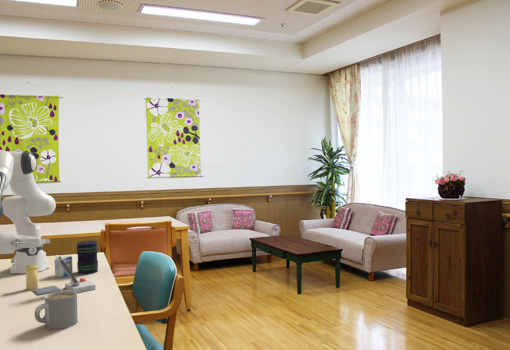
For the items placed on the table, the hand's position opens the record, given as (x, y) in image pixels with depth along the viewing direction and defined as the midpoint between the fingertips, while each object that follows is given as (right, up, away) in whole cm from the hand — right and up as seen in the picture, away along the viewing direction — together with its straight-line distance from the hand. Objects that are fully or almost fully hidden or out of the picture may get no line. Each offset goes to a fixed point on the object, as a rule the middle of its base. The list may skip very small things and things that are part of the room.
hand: (45, 240), depth 181 cm
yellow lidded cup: (-11, -23, +10) cm, 27 cm away
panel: (+10, -23, +10) cm, 27 cm away
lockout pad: (-3, -23, +7) cm, 24 cm away
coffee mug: (+20, -24, -34) cm, 46 cm away
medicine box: (-7, -22, +34) cm, 42 cm away
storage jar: (+2, -22, +40) cm, 46 cm away
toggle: (+9, -20, +8) cm, 23 cm away
